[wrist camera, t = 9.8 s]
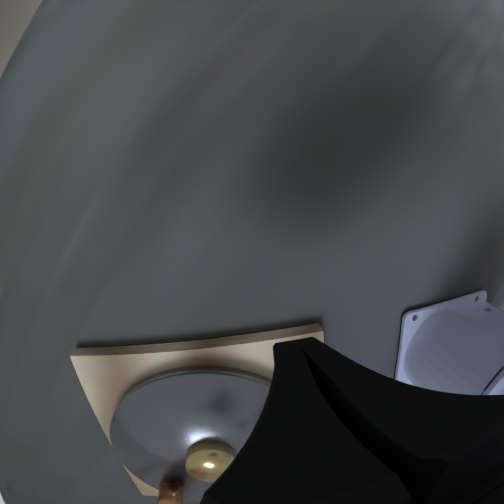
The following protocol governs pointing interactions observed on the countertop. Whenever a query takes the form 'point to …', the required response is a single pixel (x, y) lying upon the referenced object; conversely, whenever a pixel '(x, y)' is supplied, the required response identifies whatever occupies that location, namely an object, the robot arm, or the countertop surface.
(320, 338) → the wheel base
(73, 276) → the countertop surface
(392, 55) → the countertop surface
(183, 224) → the countertop surface
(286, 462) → the robot arm
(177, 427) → the handwheel
